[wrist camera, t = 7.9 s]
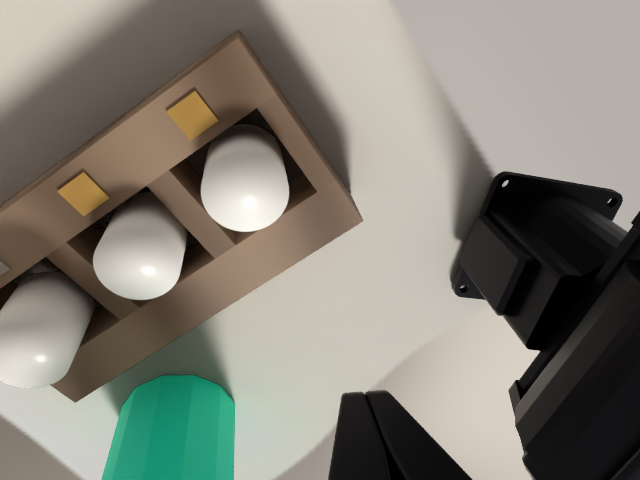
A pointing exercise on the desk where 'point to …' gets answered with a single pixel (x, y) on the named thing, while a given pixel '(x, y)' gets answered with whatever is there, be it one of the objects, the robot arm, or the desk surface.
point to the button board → (182, 200)
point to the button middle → (141, 249)
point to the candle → (174, 432)
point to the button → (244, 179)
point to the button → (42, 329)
